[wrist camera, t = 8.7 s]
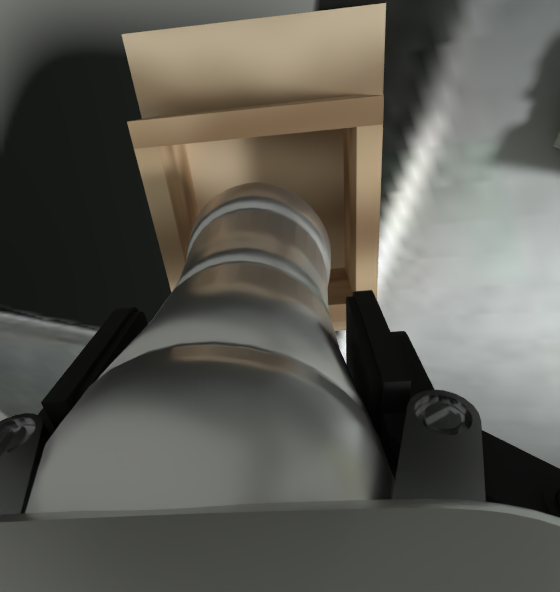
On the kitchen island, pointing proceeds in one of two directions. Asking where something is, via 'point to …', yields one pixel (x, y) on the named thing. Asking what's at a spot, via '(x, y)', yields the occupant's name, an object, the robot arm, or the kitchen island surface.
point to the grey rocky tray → (557, 142)
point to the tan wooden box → (266, 127)
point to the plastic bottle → (225, 382)
